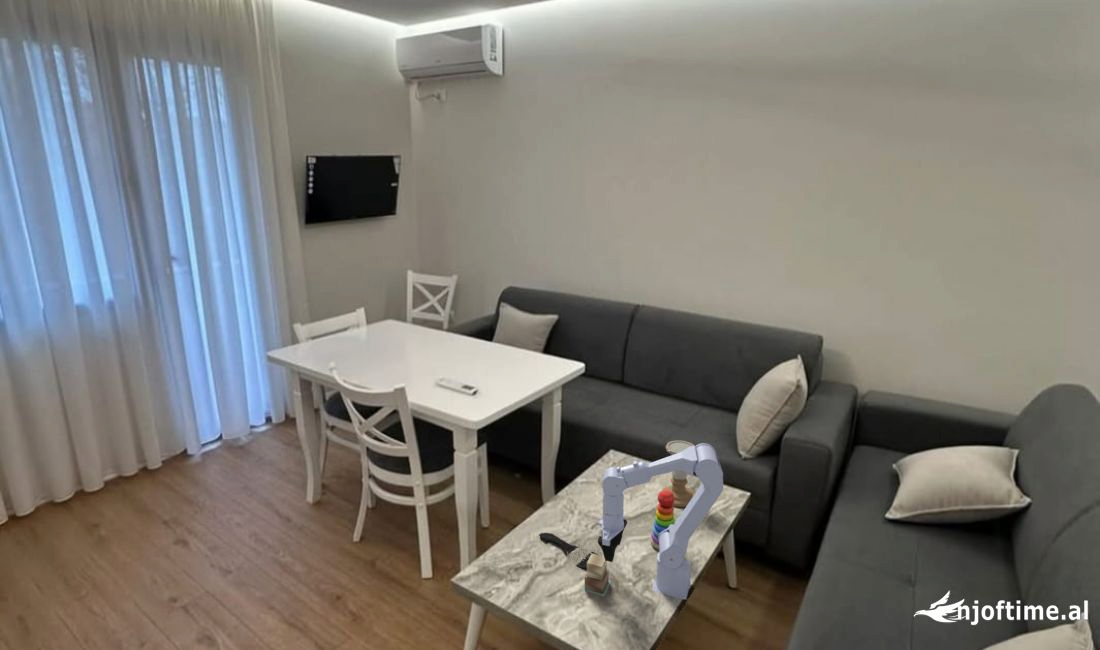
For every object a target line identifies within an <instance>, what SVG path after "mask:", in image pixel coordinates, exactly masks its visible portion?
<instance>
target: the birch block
mask: <svg viewBox="0 0 1100 650" xmlns="http://www.w3.org/2000/svg"><path fill="white" fill-rule="evenodd" d="M597 554H598V553H597ZM597 554H592V553H591V556H590V558H589V560H588V562H587V569H586V573H587V577H591V578H595V579H599V580H602V579H603V577H604V574H605V572H606V569H607V562H608V561H605V558H604V555H602V554H599V555H597Z"/></svg>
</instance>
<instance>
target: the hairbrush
mask: <svg viewBox="0 0 1100 650" xmlns="http://www.w3.org/2000/svg"><path fill="white" fill-rule="evenodd" d="M538 536H540V537H539V538H541V539H540V540H542V541H545V542H550V543H553V544H556V545H558V546H559V547H561V548H562V551H563V554H564V555H565V557H567V556H568V557H569V559H571V556H570V555H571V554H572V552H573V555H572V557H573V561H574V562H573V563H575V561H577V562H578V563H577V564H575V567H577V568H580V569H582V570H587V562H588V560H589V558H590V556H591V554H597V555H603V554H602V553H603V552H602V553H601V551H598V550H595V549H593V551H590V552H587V551H588V550H585V552H584V551H583V552H581V550H580V549H581V547H582V545H580V546H581V547H580V546H577V545H572V544H573V543H568V542H567V541H565V540H563V539H562V538H561V537H558V536H556V535H555V534H554V533H550V532H541V533H539V534H538ZM579 548H580V549H579ZM577 549H579V551H580V553H578V552H576V551H577ZM596 551H597V552H596ZM575 552H576V553H578V554H576V553H575ZM586 552H587V553H586ZM581 553H582V554H581ZM582 555H583V556H582ZM581 556H582V558H581ZM574 558H575V559H574ZM576 558H577V559H576ZM579 558H581V559H579ZM578 560H579V561H578Z"/></svg>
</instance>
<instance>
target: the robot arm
mask: <svg viewBox="0 0 1100 650" xmlns="http://www.w3.org/2000/svg"><path fill="white" fill-rule="evenodd" d="M679 470H683V471H684V472H686V473H687V475H689V476H691V477H694V473H695V475H696V477H697V478H698V479H699V480H700V482H702V483H701V484H700V486H699V487H698V489H697V490H696V492H694V493H695V495H694V496H693V498H692V499H691V500H690V502H689V503H688V505H687V506H686V507H684V509H683V511H682V512H681V514H680V515H679V517H678V519H677V520H675V522H674V524H671V525H669V527H668V528H667V529H666V530H664V531H662V532H661V533H660V534H659V537H658V540H659V548H660V550H658V553H657V555H656V569H655V579H654V582H653V586H652V589H651V590H652V592H655V593H659V594H664V595H666V596H667V595H668V596H669V597H673V598H678V599H682V600H687V597H688V594H689V589H690V588H691V574H692V572H691V570H692V563H691V562H690V561H688V560H686V559H684V555H685V554H686V553H687V549H688V545H689V541H690V538H692V536H693V534H694V532H696V531H697V528H699V526H700V524H701V523H702V522H703V520H704V519H705V517H706V515H708V513H709V511H710V510H711V509H712V507H713V505H715V504H716V502H717V500H718V498H719V497H720V496H721V494H722V493H723V491H724V472H723V469H722V466H721V462H720V459H719V455H718V453H717V452H716V449H715V448H714V446H712V445H711V444H710V443H706V442H705V443H704V442H702V443H698V444H697V445H694V446H690V447H688V448H687V449H685V450H684V451H682V452H679V453H677V454H674V455H672V454H670V455H669V456H666V457H664V458H661V459H658V460H655V461H651V462H649V463H648V462H646V461H645V460H644V461H643V460H642V461H641V460H640V461H638V460H634V461H632V463H631V464H627V465H624V466H617V467H615V466H611V467H607V469H606V470H604V472H603V474H602V484H601V485H602V490H603V491H602V493H603V494H602V518H601V519H599V520H598V526H601V529H602V530H601V531H602V536H601V535H600V536H599V537H598V538H597V544H598V545H599V547H600V549H601V550H602V553H603V554H602V555H603V556H604V558H605V561H607V562H609V563H613V562H614V559H615V554H616V550H617V547H618V546H620V545H621V542H622V538H623V534H624V530H625V528H626V526H627V524H628V520H627V519H624V506H625V505H624V499H625V497H624V494H623V492H624V491H625V490H627V489H629V488H633V487H637V486H640V485H643V484H646V483H647V484H648V483H650V482H651V480H652V478H653V477H656V476H659V475H660V476H661V475H665V474H668V473H672V472H674V471H679Z"/></svg>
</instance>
